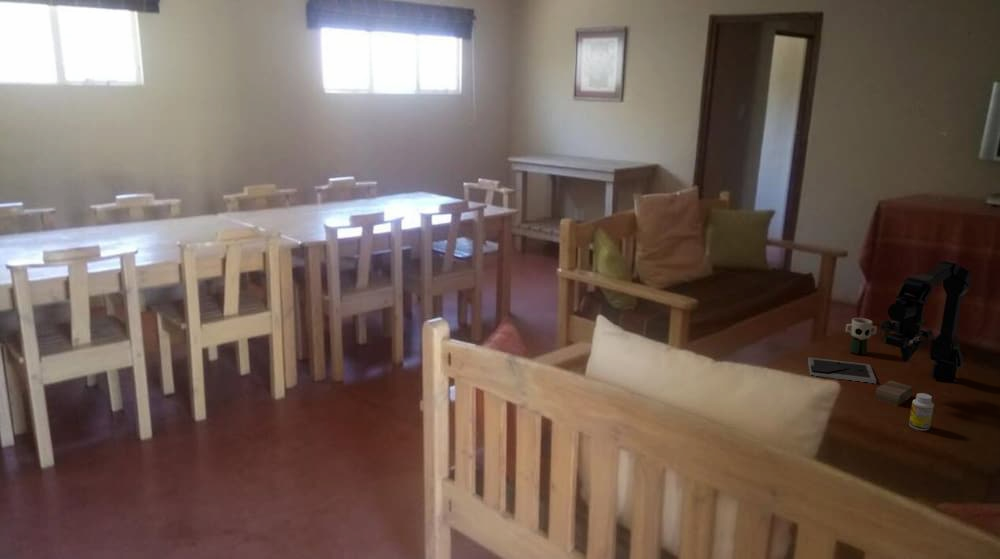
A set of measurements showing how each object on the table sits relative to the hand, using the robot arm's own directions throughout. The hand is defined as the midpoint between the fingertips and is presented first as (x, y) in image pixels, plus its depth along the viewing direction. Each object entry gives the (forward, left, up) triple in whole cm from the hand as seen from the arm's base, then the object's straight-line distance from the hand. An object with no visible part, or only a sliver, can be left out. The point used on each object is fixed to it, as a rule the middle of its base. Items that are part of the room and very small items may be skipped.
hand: (905, 361), depth 242 cm
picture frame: (+15, -18, -13) cm, 26 cm away
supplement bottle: (+1, +24, -12) cm, 27 cm away
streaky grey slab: (-1, -2, -10) cm, 10 cm away
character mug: (+3, -41, -12) cm, 42 cm away
